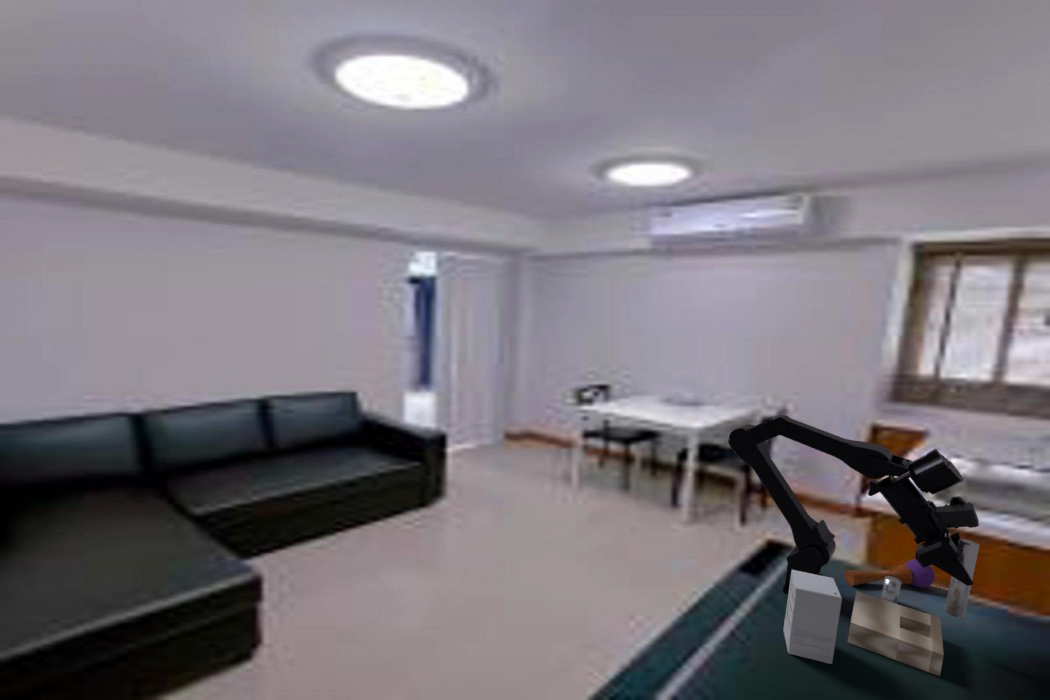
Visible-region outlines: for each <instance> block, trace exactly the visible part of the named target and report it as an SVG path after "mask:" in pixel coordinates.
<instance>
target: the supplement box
mask: <svg viewBox="0 0 1050 700" xmlns="http://www.w3.org/2000/svg"><path fill="white" fill-rule="evenodd" d="M787 594H788V595H787V603H786V609H785V615H784V622H783V623H784V624H783V630H782V631H783V635H784V640H785V644H786V645H785V646H786V649H787V654H789V655H792V656H798V657H801V658H805V659H810V660H814V661H818V662H820V663H821V662H822V663H824V664H829V665H832V664H833V660H834V653H835V647H836V643H837V642H836V641H837V635H838V627H839V623H840V622H839V621H840V616H841V615H840V614H841V609H842V608H841V607H842V603H843V602H842V601H843V597H842V596H841V593H840V590H839V588H838V586H837V583H836V582H835V579H834V577H831V576H830V577H829V576H825V575H824V576H820V575H815V574H810V573H806V572H801V571H796V570H792V571H791V578H790V586H789V593H787Z"/></svg>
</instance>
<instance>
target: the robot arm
mask: <svg viewBox="0 0 1050 700" xmlns="http://www.w3.org/2000/svg"><path fill="white" fill-rule="evenodd" d="M779 436H781V437H783V438H786V439H789V440H791V441H794V442H797V443H799V444H802V445H804V446H806V447H809V448H812V449H814V450H816V451H819V452H821V453H823V454H827V455H829V456H832V457H834V458H836V459H838V460H840V461H841V462H843V463H844V464H845V465H846V466H848V467H849V468H850V469H852V470H854V471H855V472H857V473H859V474H860V475H862V476H864V477H866V478H868V479H870V481H869V482H868V484H869V488H868V492H867V496H869V497H873V496H875V495H877V494H879V493H880V494H881V495H882V497H883V498H884V499H885V500H886V502H887V503H888V504H889V505H890V507H891V508H892V509H893V511H894V512H895V513H896V514H897V516H898V521H899V523H900V524H901V525H905V526H906V527H907V528H908V530H909V531H910V532H911V534H912V535H913V536H914V537H913V541H914V542H915V543H916V544H917V546H916V547H917V548H916V551H915V558H914V560H917V561H918V563H919V564H920V565H921V566H922V567H927V566H930V567H931V566H934V567H935V568H937V569H940V570H941V571H943V572H944V573H946V574H948V575H949V576H952V577H954V578H956V579H957V580H959V581H960V582H962V583H964V584H965V585H967V586H970V585H971V586H972V585H973V584H974V582H973V579H971V577H970V576H969V574H968V572H967V570H966V569H965V567H964V565H963V564H962V562H961V560H960V558H959V557H958V553H959V546H960V545H959V544H958V542H959V539H961V533H960V532H956V533H953V534H951V533H950V529H953V528H954V529H955V530H956V529H959V528H978V527H979V526H980V524H979V523H980V522H979V521H980V520H979V517H978V515H977V511H976V509H975V507H974V504H973V503H971V501H968V502H967V501H966V500H965V499H963V498H962V496H958V495H957V496H951V497H950V500H949V504H948V503H947V504H946V503H945V504H944V505H940V506H937V505H936V504H935V503H934V502H933V500H930V499H929V500H927V499H926V498H925V497H924V495H923V493H925V494H927V493H929V494H931V495H935V494H938V493H940V492H942V491H945V490H946V489H949V488H951V487H953V486H955V485H958V484H959V483H962V482H965V480H964V478H963V476H962V474H961V472H960V470H958V469H957V467H956V465H954V464H953V462H952V461H951V460H949V459H948V458H947V457H946V456H945V455H943V454H942V453H941V452H940V451H939V450H938V449H936V448H934V449H933V450H929V451H928V452H927V453H926V454H925V455H922V456H920V457H919V458H917V459H914V460H911V459H908V458H905V457H902V456H899V455H896V454H893V453H892V452H891V450H890V449H889V448H887V447H885V446H884V445H881V444H875V443H872V442H867V441H863V440H854V439H853V440H852V439H848V438H844V437H841V436H839V435H837V434H836V435H835V434H834V433H831V432H828V431H825V430H822V429H820V428H819V427H814V426H812V425H809V424H807V423H804V422H802V421H799V420H796V419H793V418H792V417H789V416H788V415H786V414H778V415H777V416H775V417H773V418H771V419H769V420H766V421H763V422H761V423H759V424H756V425H754V424H747V423H746V424H744V425H742V426H739V427H736V428H735V429H733V430H732V431H731V432H730V434H729V436H728V440H727V441H728V444H729V447H730V449H731V450H732V451H733V452H734V453H735V455H736V456H738V458H739V459H740V460H741V461H742V462H744V463H745V464H746V465H748V466H749V467H750V468H751V469H752V470H753V471H754V473H755V474H756V476H757V477H758V479H759V480H760V482H761V483H762V485H763V486H764V488H765V490H766V491H767V493H768V494H769V496H770V498H771V500H772V501H773V502H774V504H775V505H776V507H777V508H778V509H779V511H780V513H781V515H783V517H784V519H785V521H786V522H787V524H788V525H789V527H790V529H791V533H792V537H793V541H794V545H795V546H794V547H793V549H792V550H791V551H790V553H788V555H787V556H786V563H787V565H786V571H785V572H786V573H785V581H784V584H783V587H782V592H783V593H787V594H789V586H790V578H791V571H792V570H796V571H801V572H806V573H810V574H815V575H820V576H825V574H823V573H822V569H823V568H822V567H824V566H826V565H828V563H829V562H830V560H831V558H832V557H833V555H834V553H835V551H836V549H837V548H836V547H837V545H836V541H835V538H836V535H835V534H834V533H832V532H831V531H830V529H829V528H828V527H829V526H828V525H827V524H826V522H825V520H824V519H821V520H819V521H817V520H815V519H814V518H812V517H811V516H810V515H809V513H808V512H807V510H806V509H805V507H804V506H803V505H802V503H801V502H800V500H799V498H798V497H797V495H796V494H795V493H794V491H793V490H792V488H791V486H790V485H789V483H788V482H787V480H786V478H784V476H783V474H782V473H781V471H780V470H779V468H778V467H777V465H776V463H775V462H774V461H773V459H772V457H771V453H770V451H769V450H770V449H769V445H768V443H767V441H768V440H771V439H773V438H776V437H779ZM879 479H880V480H879ZM918 489H919V490H918ZM920 491H921V492H920Z"/></svg>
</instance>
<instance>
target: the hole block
mask: <svg viewBox="0 0 1050 700" xmlns="http://www.w3.org/2000/svg"><path fill="white" fill-rule="evenodd" d="M942 634H943V633H942V625H941V618H940V617H938V616H934V615H933V614H932V615H931V614H929V613H926V612H923V611H920V610H916V609H913V608H912V607H911V608H910V607H907V606H905V605H901V604H895V603H892V602H889V601H886V600H883V599H881V597H880V598H879V597H877V596H874V595H870V594H867V593H864V592H860V591H857V590H856V592H855V597H854V602H853V608H852V613H851V618H850V623H849V630H848V636H847V643H848V644H850V645H851V644H852V645H854V646H856V647H860V648H862V649H865V650H866V651H867V650H868V651H870V652H872V653H875V654H879V655H881V656H884V657H886V658H888V659H891V660H895V661H897V662H899V663H903V664H905V665H908V666H910V667H913V668H916V669H918V670H921V671H923V672H927V673H929V674H933V675H936V676H938V677H940V676H941V673H942V665H943V662H944V661H943V660H944V644H943V635H942Z"/></svg>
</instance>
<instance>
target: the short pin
mask: <svg viewBox="0 0 1050 700" xmlns="http://www.w3.org/2000/svg"><path fill="white" fill-rule="evenodd" d="M901 587H902V582H901V581H900V580H899V579H897V578H895V577H891V576H885V578H884V580H883V584H882V590H881V596H880V599H883V600H886V601H889V602H892V603H895V604H898V603H899V597H900V591H901ZM898 605H899V604H898Z"/></svg>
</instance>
